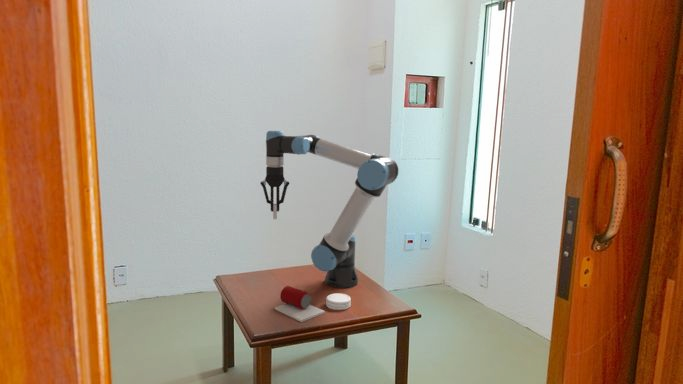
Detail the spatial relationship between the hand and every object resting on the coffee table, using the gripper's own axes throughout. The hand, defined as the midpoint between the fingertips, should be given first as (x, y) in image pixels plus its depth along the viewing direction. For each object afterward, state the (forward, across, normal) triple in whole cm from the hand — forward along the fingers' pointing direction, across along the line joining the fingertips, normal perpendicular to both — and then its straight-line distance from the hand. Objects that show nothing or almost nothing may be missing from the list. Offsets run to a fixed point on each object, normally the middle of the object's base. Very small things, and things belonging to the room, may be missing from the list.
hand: (275, 218), depth 217 cm
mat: (+29, -8, +35) cm, 46 cm away
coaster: (+30, -24, +31) cm, 49 cm away
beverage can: (+25, -3, +26) cm, 37 cm away
